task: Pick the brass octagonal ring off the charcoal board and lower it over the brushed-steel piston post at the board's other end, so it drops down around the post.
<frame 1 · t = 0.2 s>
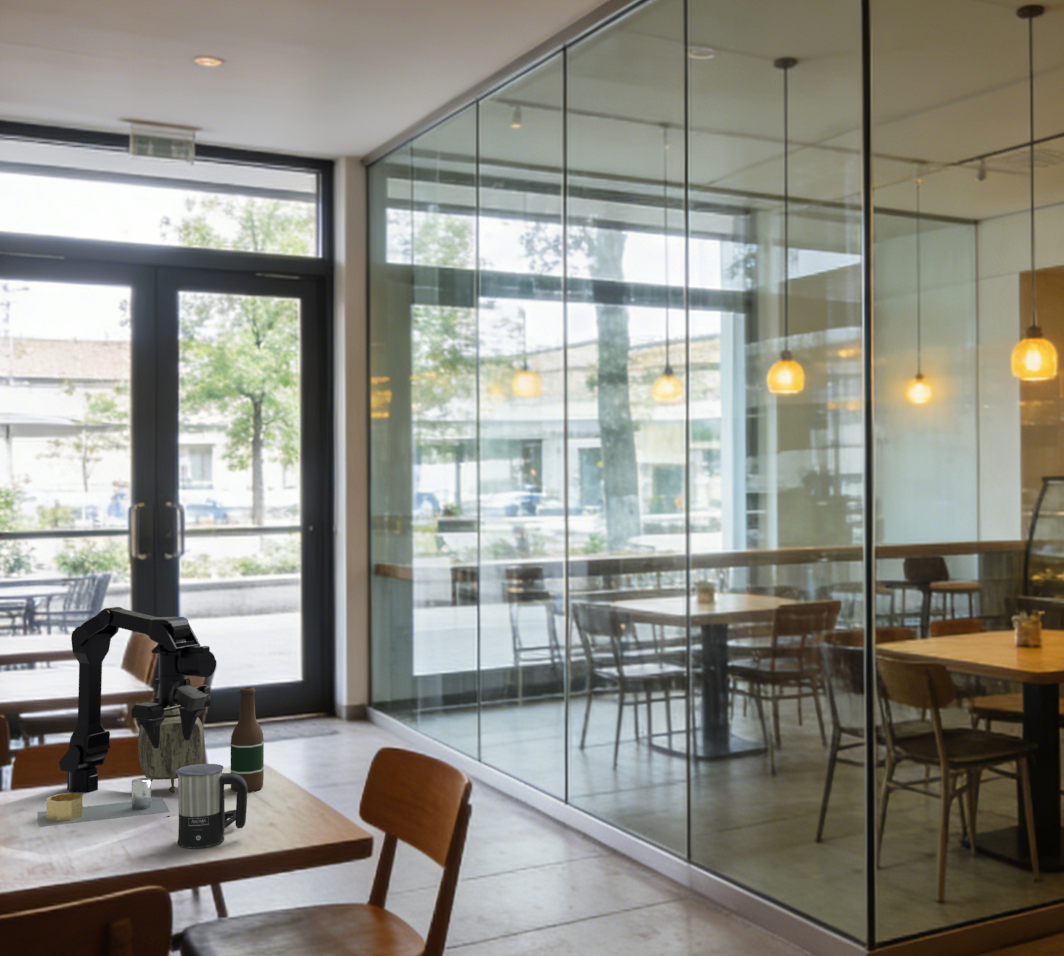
hand: (171, 744, 250), 14 cm above the table, fingers open, 9 cm apart
beer bottle: (247, 789, 267), on the table
milk frother: (209, 837, 230), on the table
fit board: (103, 817, 243), on the table
tabletop clock: (171, 791, 265), on the table
brass ring: (64, 816, 240), point 1 cm above the table, touching fit board
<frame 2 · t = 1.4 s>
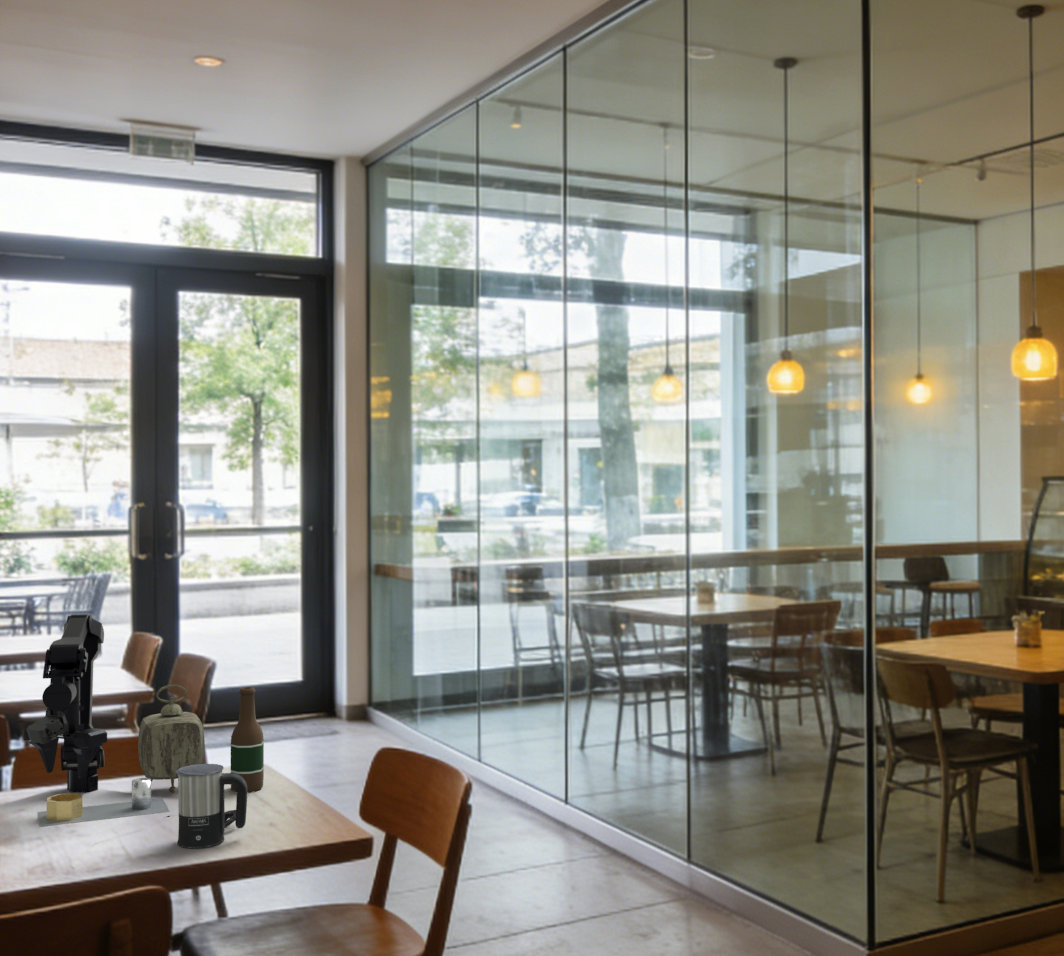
hand: (65, 774, 240), 10 cm above the table, fingers open, 9 cm apart
nothing on the table moved.
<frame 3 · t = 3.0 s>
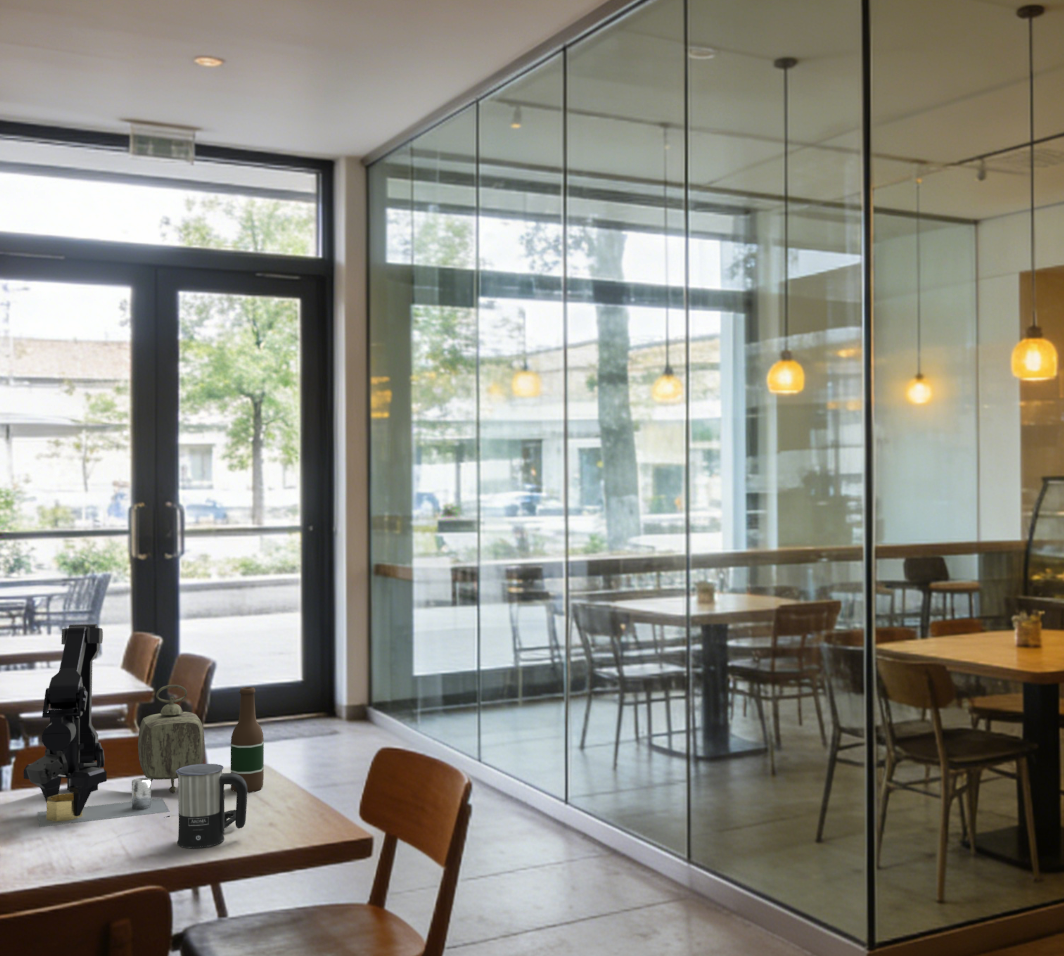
hand: (64, 813, 240), 2 cm above the table, fingers closed on brass ring, 7 cm apart
brass ring: (64, 816, 240), point 1 cm above the table, touching fit board, gripper
everything else where it was.
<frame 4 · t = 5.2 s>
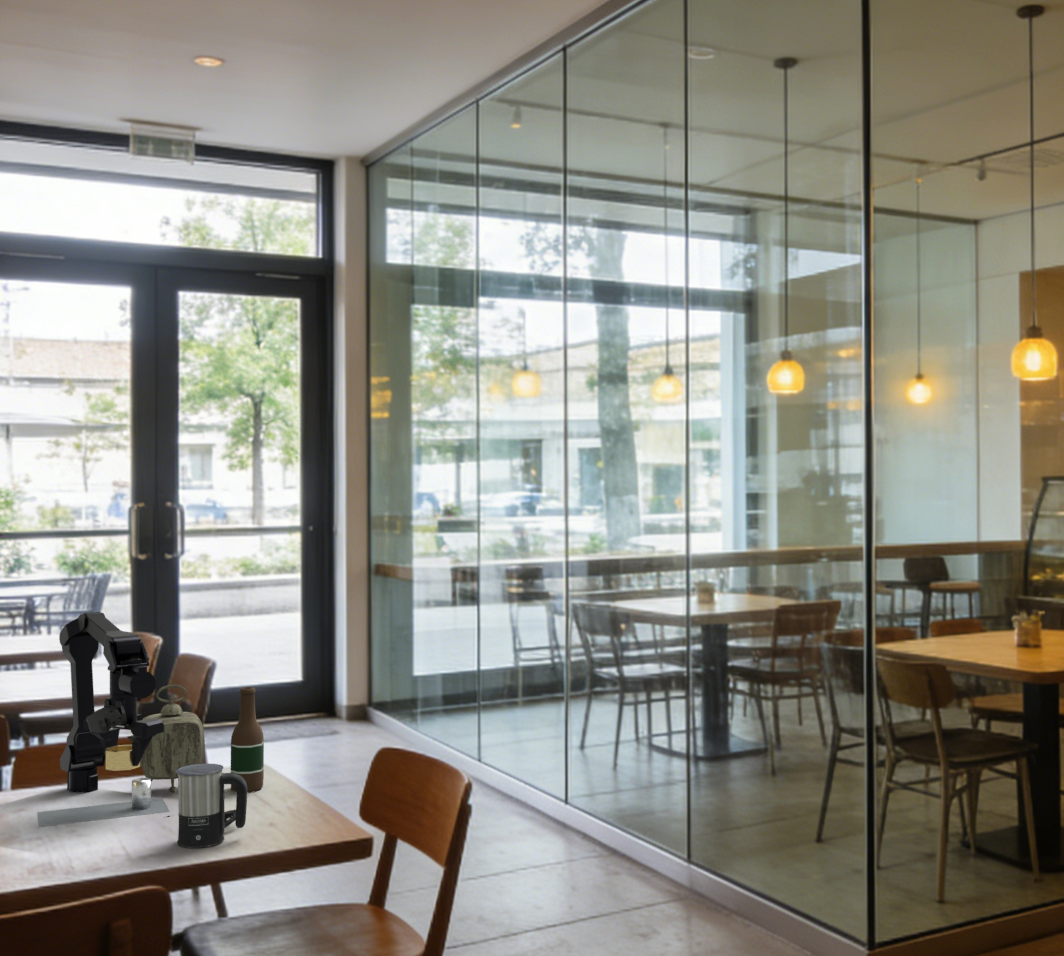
hand: (123, 764, 245), 11 cm above the table, fingers closed on brass ring, 7 cm apart
brass ring: (123, 766, 245), point 11 cm above the table, touching gripper
everything else where it was.
when the fingers open (4 cm above the table, at t = 7.7 s): brass ring drops 2 cm, resting on fit board.
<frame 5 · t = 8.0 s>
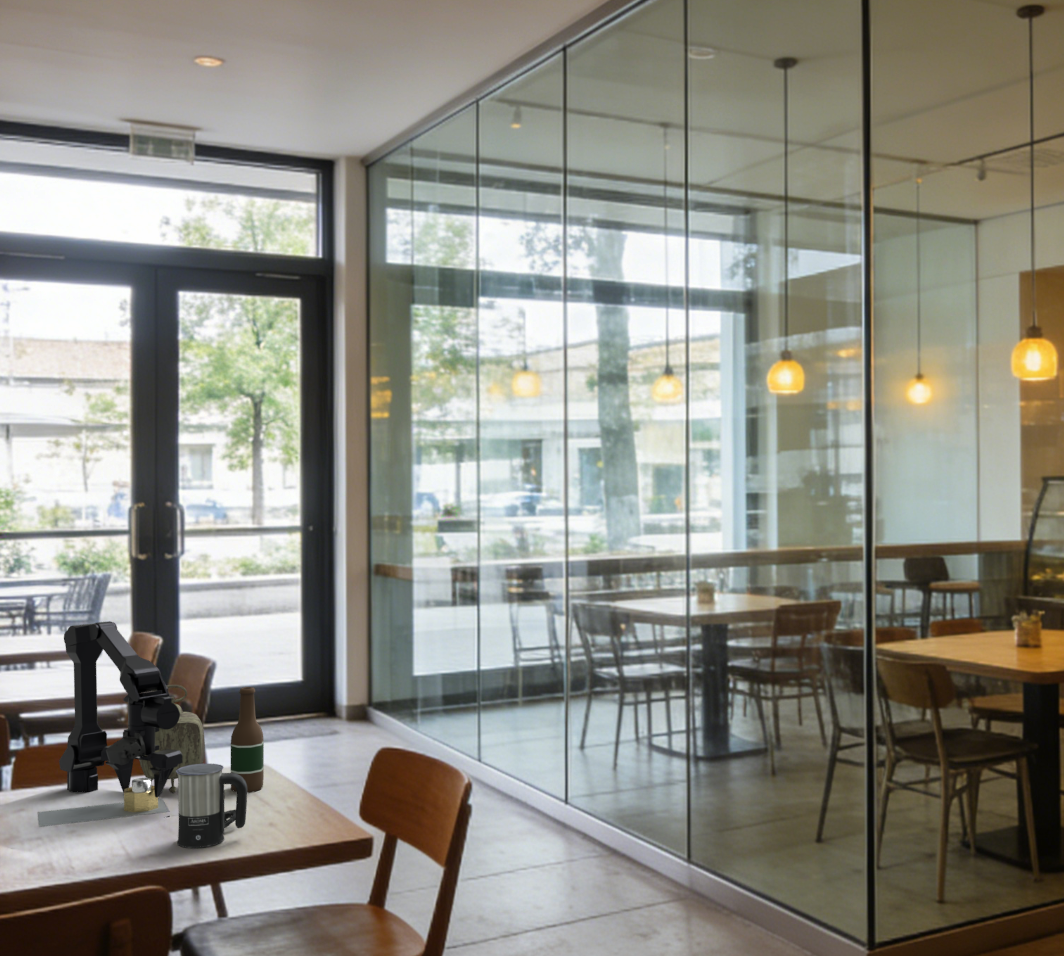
hand: (141, 794, 247), 4 cm above the table, fingers open, 9 cm apart
brass ring: (141, 807, 247), point 1 cm above the table, touching fit board
everything else where it was.
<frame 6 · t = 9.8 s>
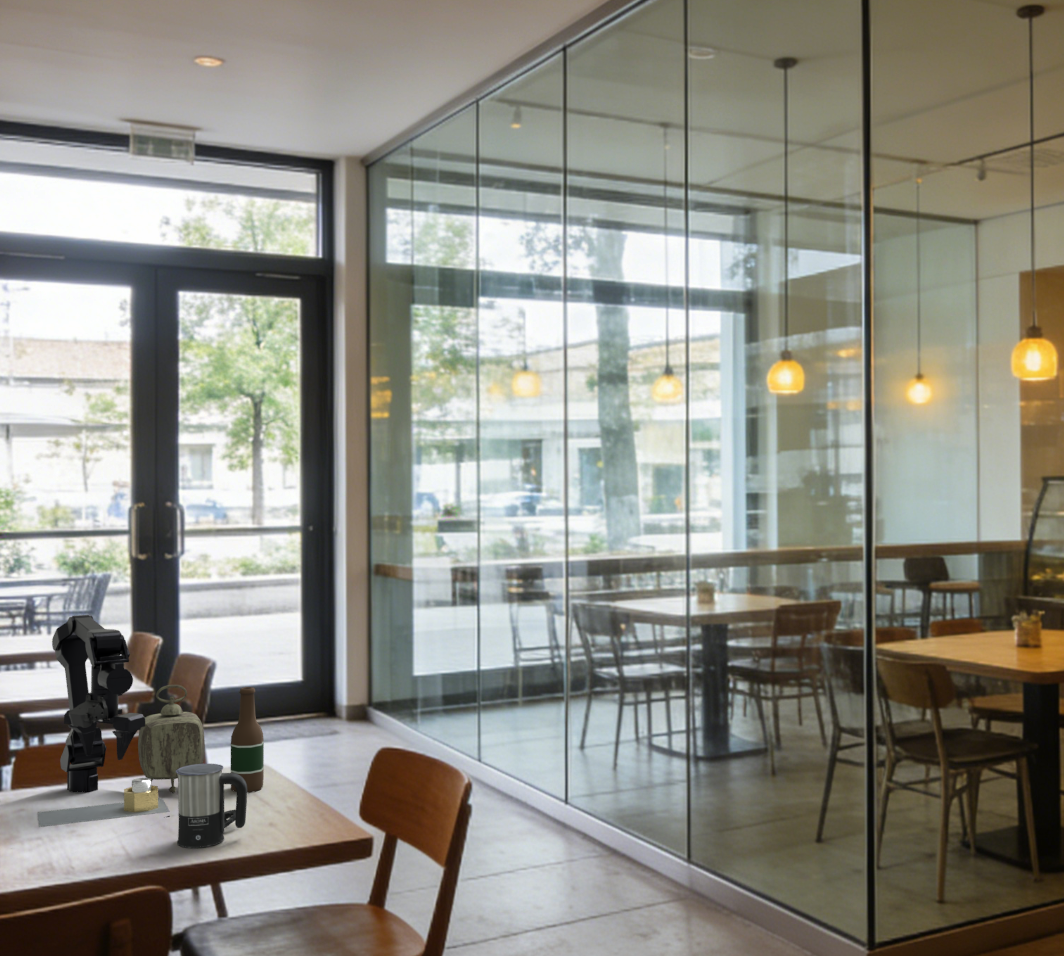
hand: (104, 757, 250), 12 cm above the table, fingers open, 9 cm apart
nothing on the table moved.
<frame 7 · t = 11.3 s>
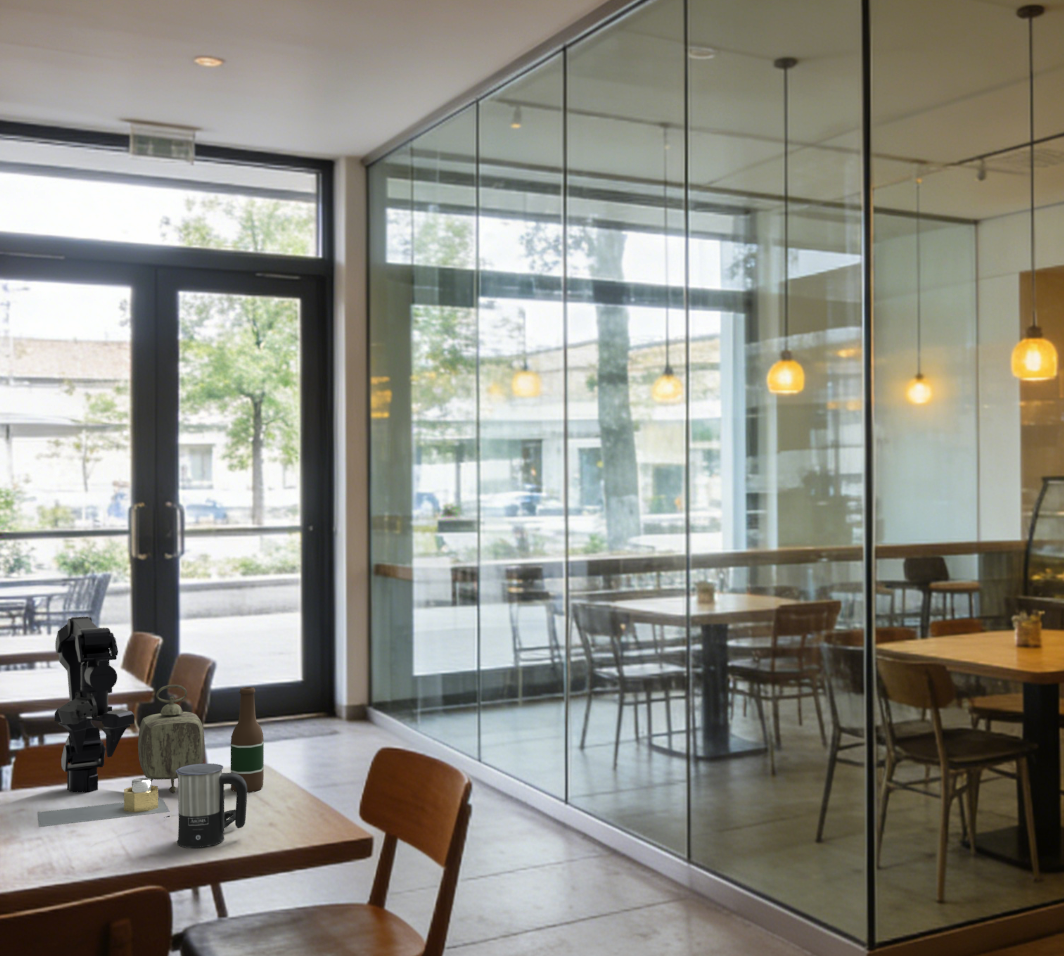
hand: (94, 754, 250), 12 cm above the table, fingers open, 9 cm apart
nothing on the table moved.
at the end: brass ring 0.1 cm from the target spot on the fit board, point 1.2 cm above the fit board's base; brass ring tilted 0°; the gripper is holding nothing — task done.
